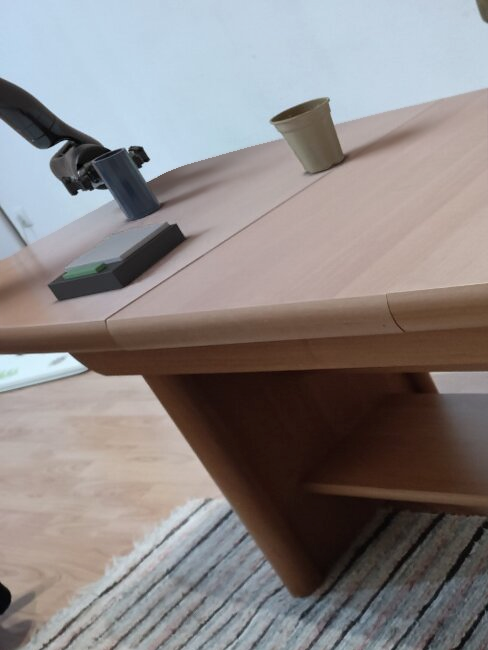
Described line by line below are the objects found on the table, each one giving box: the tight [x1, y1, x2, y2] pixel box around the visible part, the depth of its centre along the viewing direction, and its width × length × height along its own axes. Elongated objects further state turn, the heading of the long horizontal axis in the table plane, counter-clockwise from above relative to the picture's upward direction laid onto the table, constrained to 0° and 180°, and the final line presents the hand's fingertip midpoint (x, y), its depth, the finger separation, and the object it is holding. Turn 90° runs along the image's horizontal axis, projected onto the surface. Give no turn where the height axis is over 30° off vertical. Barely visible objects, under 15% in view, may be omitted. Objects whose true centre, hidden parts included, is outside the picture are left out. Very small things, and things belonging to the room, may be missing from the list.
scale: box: [46, 221, 187, 301], centre depth 119 cm, size 12×14×3 cm
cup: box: [91, 147, 162, 222], centre depth 142 cm, size 6×6×10 cm
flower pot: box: [268, 96, 345, 174], centre depth 131 cm, size 9×9×9 cm
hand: (113, 173), depth 145 cm, fingers open, 8 cm apart
